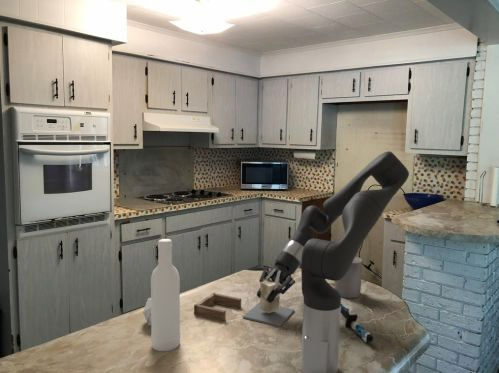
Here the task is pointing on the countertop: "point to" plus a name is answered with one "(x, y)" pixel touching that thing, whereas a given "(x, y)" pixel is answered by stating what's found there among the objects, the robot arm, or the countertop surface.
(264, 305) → the ash block
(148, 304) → the die
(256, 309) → the pad
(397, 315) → the countertop surface
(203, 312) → the stall
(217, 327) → the countertop surface
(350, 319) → the knife
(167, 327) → the bottle
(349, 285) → the pillar candle
